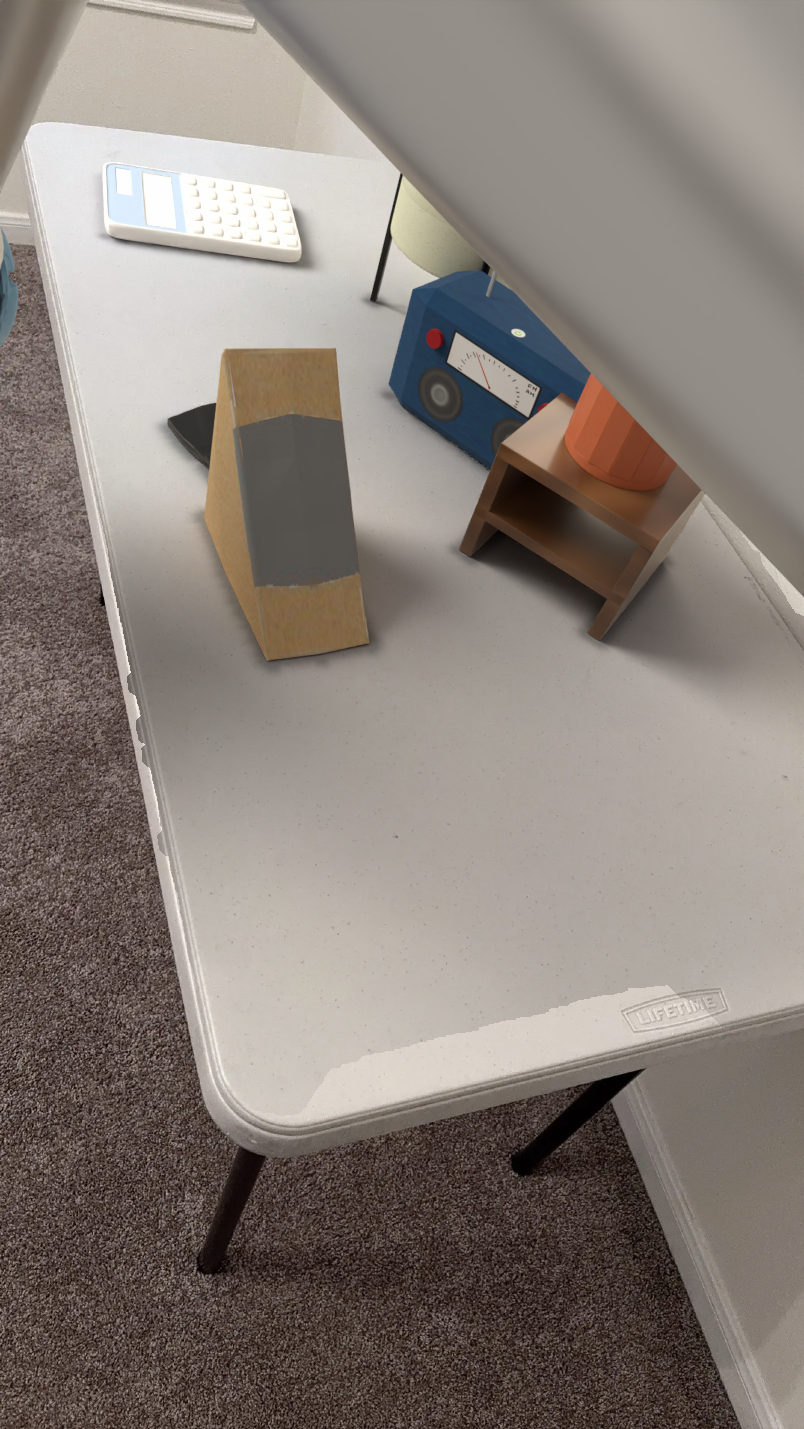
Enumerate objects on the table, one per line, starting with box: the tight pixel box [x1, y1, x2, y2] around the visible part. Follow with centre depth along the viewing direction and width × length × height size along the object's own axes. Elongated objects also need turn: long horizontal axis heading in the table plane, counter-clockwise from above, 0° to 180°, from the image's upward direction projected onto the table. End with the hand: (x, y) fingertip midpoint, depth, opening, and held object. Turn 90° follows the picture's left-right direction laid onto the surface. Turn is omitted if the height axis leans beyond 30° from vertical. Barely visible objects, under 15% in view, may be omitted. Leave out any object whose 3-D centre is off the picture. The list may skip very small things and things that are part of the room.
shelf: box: [458, 393, 706, 641], centre depth 81 cm, size 14×14×11 cm
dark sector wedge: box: [166, 402, 216, 471], centre depth 84 cm, size 8×14×2 cm, turn 129°
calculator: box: [102, 161, 303, 264], centre depth 104 cm, size 13×20×2 cm, turn 102°
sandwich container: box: [203, 347, 370, 662], centre depth 69 cm, size 9×15×15 cm, turn 24°
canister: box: [565, 374, 677, 491], centre depth 72 cm, size 9×9×12 cm
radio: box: [387, 270, 591, 471], centre depth 85 cm, size 21×9×20 cm, turn 50°
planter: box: [369, 172, 513, 303], centre depth 94 cm, size 15×16×23 cm
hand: (784, 255), depth 55 cm, fingers open, 13 cm apart
